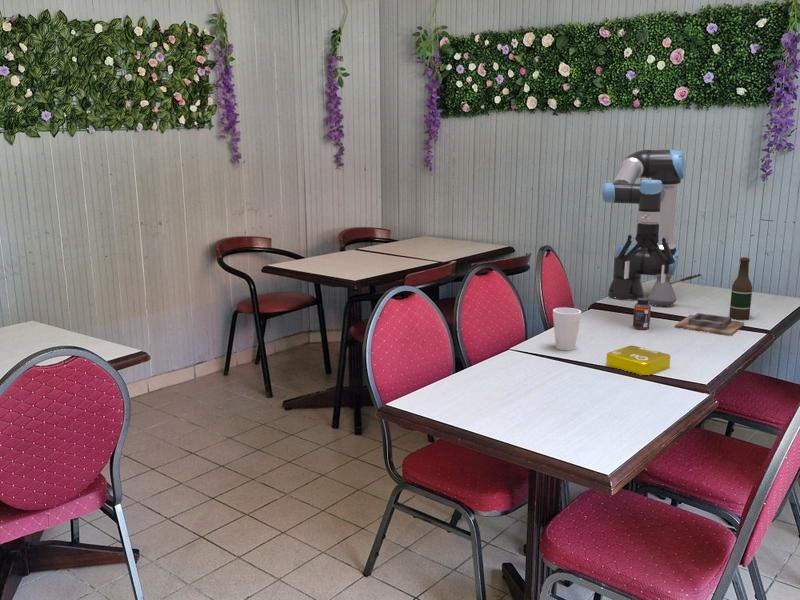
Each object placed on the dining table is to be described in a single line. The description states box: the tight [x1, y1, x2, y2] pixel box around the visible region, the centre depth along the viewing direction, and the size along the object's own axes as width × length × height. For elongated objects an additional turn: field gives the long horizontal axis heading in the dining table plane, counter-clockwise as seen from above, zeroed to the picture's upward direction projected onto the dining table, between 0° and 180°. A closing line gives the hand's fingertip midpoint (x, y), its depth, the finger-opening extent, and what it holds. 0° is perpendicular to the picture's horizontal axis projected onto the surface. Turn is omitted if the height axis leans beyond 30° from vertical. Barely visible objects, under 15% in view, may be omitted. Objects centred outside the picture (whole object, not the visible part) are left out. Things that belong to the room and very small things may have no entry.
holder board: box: [674, 312, 745, 337], centre depth 283 cm, size 20×20×3 cm
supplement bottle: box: [632, 297, 652, 331], centre depth 280 cm, size 6×6×11 cm
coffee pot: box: [647, 273, 704, 307], centre depth 314 cm, size 21×12×15 cm, turn 54°
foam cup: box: [552, 307, 582, 351], centre depth 254 cm, size 10×9×13 cm
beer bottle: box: [728, 257, 753, 321], centre depth 293 cm, size 8×8×24 cm
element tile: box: [605, 345, 671, 376], centre depth 236 cm, size 15×15×5 cm
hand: (644, 280), depth 277 cm, fingers open, 13 cm apart
